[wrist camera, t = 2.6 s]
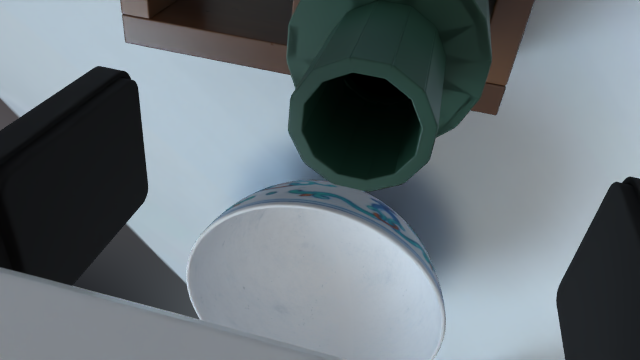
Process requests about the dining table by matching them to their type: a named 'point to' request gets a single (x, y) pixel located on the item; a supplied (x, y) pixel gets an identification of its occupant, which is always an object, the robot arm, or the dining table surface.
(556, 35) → the dining table surface
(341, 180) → the bottle
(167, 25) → the caddy
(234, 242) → the chinaware
